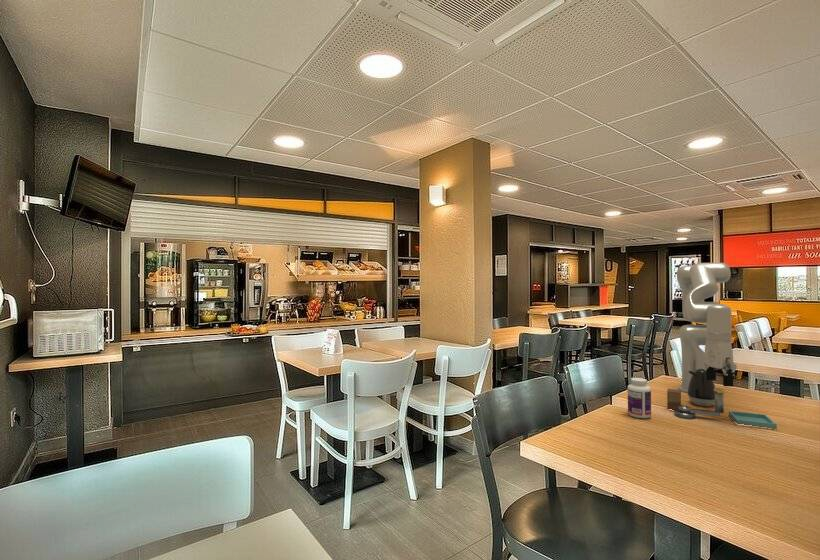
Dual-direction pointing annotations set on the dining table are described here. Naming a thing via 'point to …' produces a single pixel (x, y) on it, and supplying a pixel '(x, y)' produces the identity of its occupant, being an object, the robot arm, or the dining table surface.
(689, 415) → the crank base
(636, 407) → the pill bottle
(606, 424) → the dining table surface
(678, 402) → the block
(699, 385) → the black tapered rounded piece
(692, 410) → the crank
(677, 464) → the dining table surface
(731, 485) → the dining table surface
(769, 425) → the tray
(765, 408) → the dining table surface
